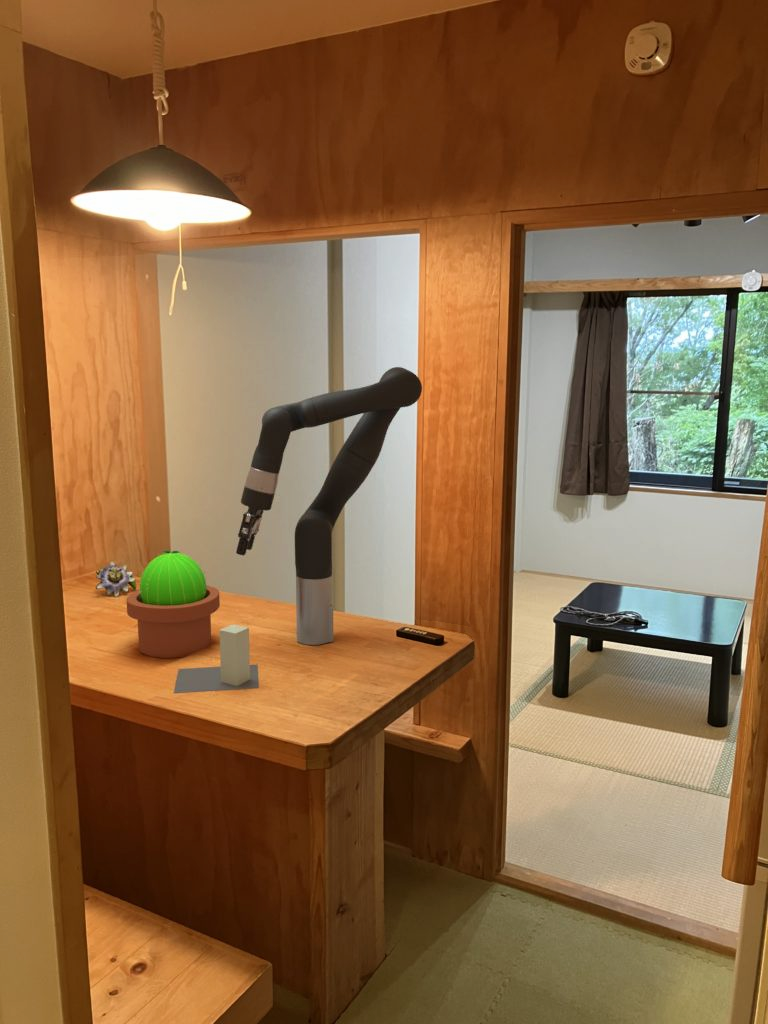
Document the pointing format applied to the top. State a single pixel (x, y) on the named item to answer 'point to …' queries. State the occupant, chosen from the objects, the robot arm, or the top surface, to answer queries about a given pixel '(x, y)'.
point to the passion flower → (115, 579)
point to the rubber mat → (210, 680)
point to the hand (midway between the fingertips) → (243, 551)
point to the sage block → (234, 654)
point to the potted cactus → (173, 607)
